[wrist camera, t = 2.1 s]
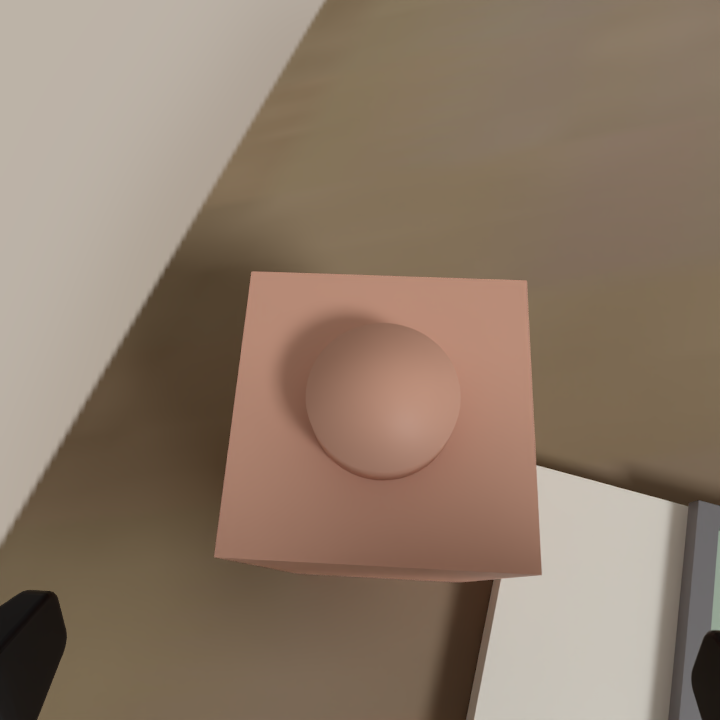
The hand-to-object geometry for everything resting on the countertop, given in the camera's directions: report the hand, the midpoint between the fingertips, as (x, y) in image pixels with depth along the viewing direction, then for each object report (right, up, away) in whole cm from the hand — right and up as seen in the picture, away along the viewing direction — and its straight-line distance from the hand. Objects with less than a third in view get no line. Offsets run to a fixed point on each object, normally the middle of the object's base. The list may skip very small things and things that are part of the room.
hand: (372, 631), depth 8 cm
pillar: (0, -1, +11) cm, 11 cm away
